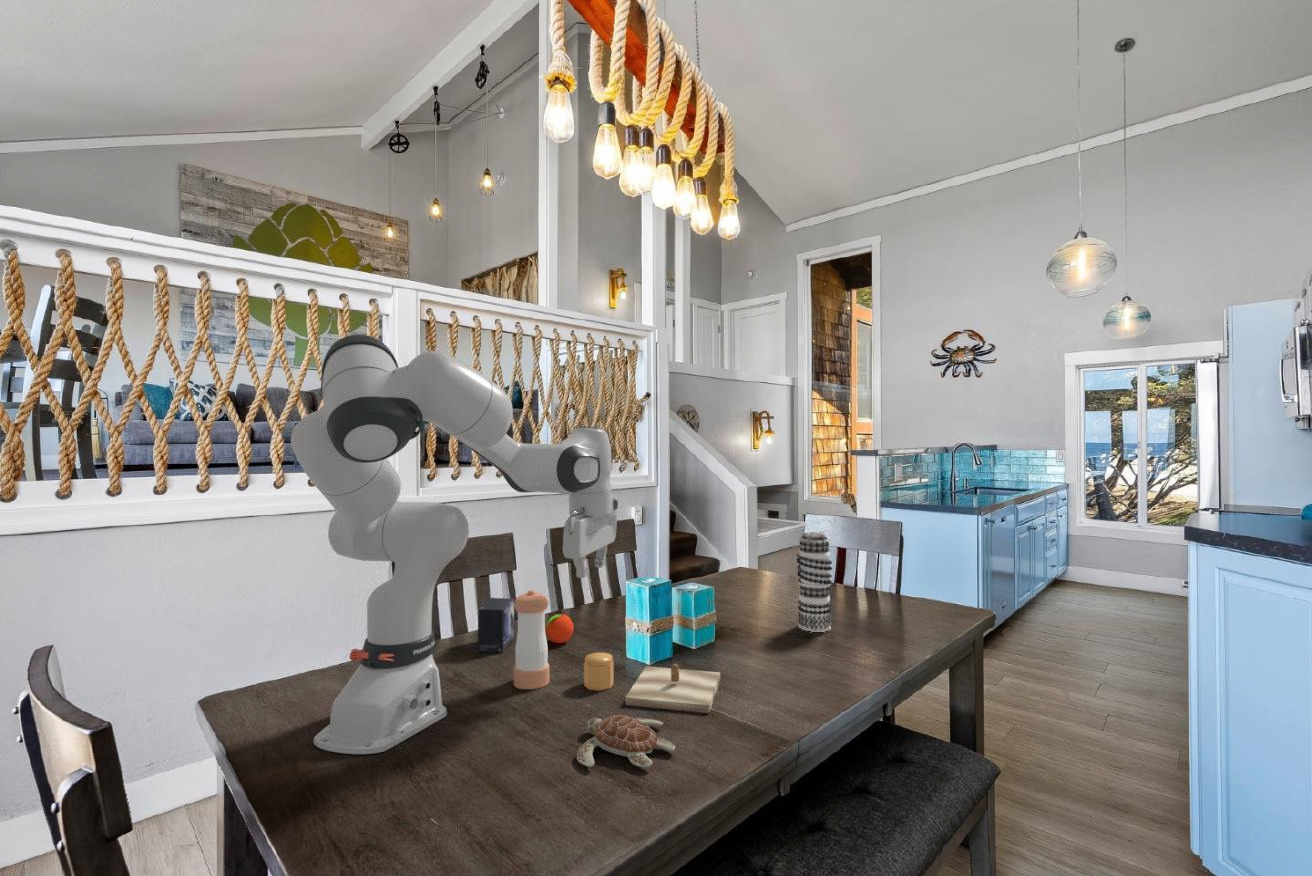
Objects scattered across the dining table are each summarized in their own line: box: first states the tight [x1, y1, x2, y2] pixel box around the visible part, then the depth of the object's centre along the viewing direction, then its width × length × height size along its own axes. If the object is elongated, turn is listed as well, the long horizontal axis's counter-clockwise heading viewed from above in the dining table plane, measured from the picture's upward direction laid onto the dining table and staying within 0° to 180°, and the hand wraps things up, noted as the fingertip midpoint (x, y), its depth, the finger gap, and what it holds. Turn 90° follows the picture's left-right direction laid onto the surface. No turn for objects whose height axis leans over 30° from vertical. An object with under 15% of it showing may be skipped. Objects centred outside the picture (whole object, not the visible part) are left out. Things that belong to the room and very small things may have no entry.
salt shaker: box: [513, 589, 550, 690], centre depth 127 cm, size 7×7×19 cm
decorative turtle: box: [576, 714, 676, 768], centre depth 100 cm, size 18×17×5 cm
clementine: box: [545, 613, 575, 644], centre depth 151 cm, size 8×7×7 cm
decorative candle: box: [796, 531, 833, 633], centre depth 162 cm, size 9×9×25 cm
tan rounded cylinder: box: [583, 652, 615, 691], centre depth 125 cm, size 6×6×6 cm
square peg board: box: [624, 663, 721, 714], centre depth 122 cm, size 16×16×6 cm
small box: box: [477, 597, 515, 654], centre depth 149 cm, size 11×6×10 cm, turn 179°
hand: (591, 571), depth 126 cm, fingers open, 8 cm apart
